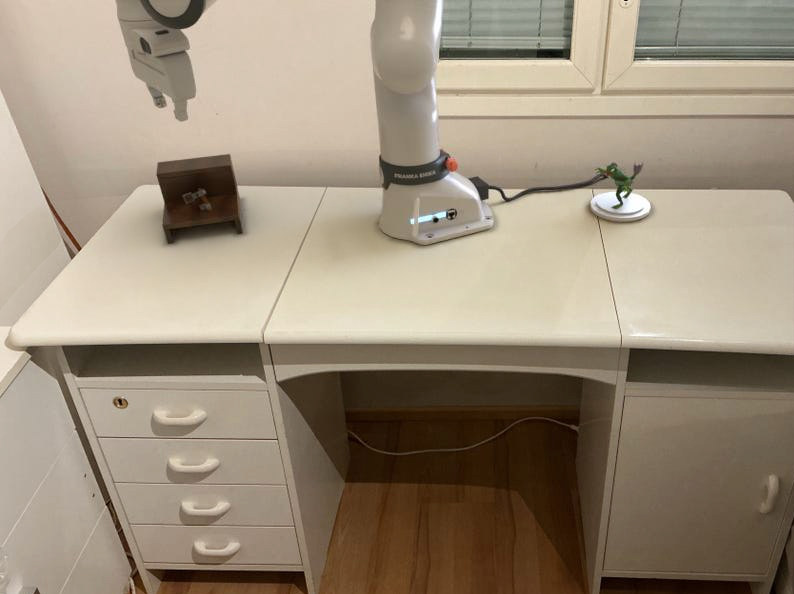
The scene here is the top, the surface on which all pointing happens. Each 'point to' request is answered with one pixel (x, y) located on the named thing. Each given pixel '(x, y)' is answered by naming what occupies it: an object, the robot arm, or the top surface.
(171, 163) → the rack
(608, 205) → the frog figurine
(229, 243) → the top surface
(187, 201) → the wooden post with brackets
